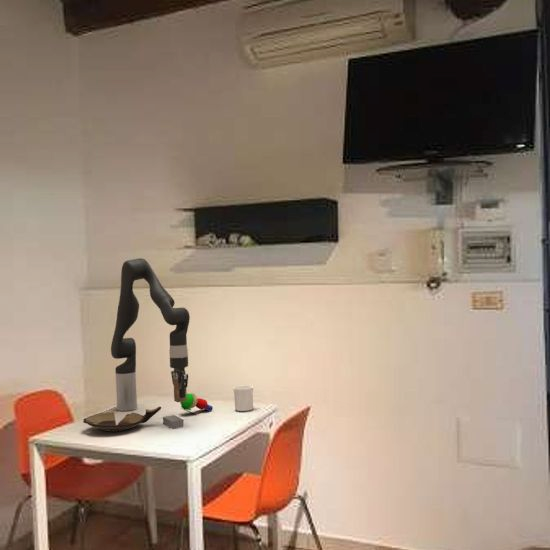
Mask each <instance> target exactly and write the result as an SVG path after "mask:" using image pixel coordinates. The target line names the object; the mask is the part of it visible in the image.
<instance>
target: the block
mask: <svg viewBox="0 0 550 550" xmlns="http://www.w3.org/2000/svg"><path fill="white" fill-rule="evenodd" d="M173 381H174V385H173V396H174V397H173V401H174V402H177V403H180V402H184V401H187V394H188V393H187V388H185V398H180V393H179V384H178V378H177V377H173ZM179 381H181V380H179Z"/></svg>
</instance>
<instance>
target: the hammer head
mask: <svg viewBox="0 0 550 550" xmlns="http://www.w3.org/2000/svg"><path fill="white" fill-rule="evenodd" d="M162 424H163V425H164V426H166V427H168V428H169V429H171V430H174V429H179V428H184V419H183V418H181V417H179V416H177V415H175V414H172V415H166V416H163V417H162Z"/></svg>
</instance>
